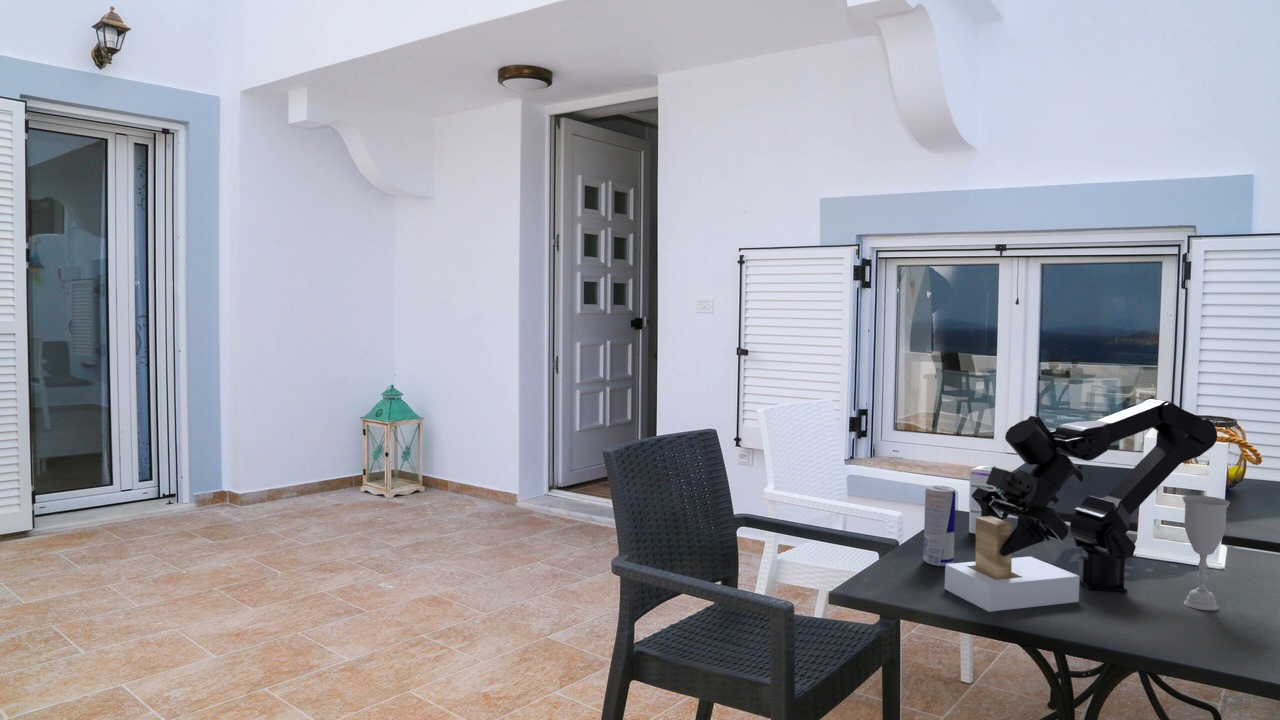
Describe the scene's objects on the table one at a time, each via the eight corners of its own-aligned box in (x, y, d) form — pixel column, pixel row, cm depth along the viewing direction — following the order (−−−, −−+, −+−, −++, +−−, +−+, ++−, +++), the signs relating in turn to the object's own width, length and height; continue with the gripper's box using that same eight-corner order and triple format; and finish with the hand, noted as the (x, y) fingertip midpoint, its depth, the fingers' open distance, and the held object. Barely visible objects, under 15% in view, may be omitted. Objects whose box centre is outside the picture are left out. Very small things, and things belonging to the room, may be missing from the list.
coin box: (1029, 580, 163) (1030, 556, 162) (1078, 601, 151) (1079, 575, 151) (944, 589, 158) (945, 564, 157) (988, 611, 146) (989, 585, 146)
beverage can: (955, 568, 170) (957, 491, 169) (925, 566, 171) (927, 489, 170) (951, 559, 176) (953, 485, 175) (921, 558, 177) (923, 483, 176)
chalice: (1225, 615, 145) (1231, 506, 144) (1177, 607, 149) (1181, 501, 147) (1224, 602, 151) (1229, 498, 150) (1177, 595, 155) (1182, 493, 154)
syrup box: (995, 537, 192) (997, 471, 192) (967, 533, 196) (969, 468, 195) (1003, 532, 197) (1005, 467, 196) (976, 527, 201) (978, 464, 200)
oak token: (989, 588, 156) (990, 515, 156) (1011, 598, 151) (1011, 523, 150) (975, 590, 156) (975, 517, 155) (996, 600, 150) (997, 524, 149)
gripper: (981, 443, 162) (927, 506, 160) (1056, 460, 144) (996, 532, 142) (1016, 483, 165) (964, 546, 162) (1094, 505, 147) (1036, 576, 144)
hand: (987, 549), depth 153 cm, fingers open, 7 cm apart
